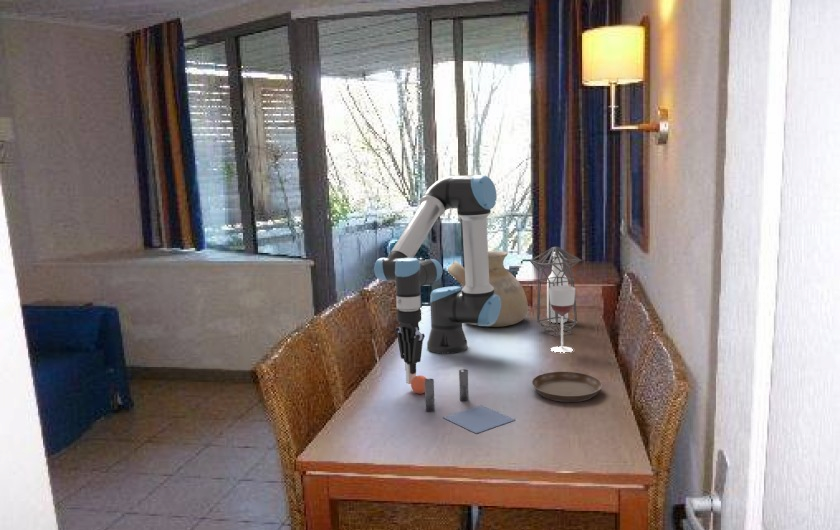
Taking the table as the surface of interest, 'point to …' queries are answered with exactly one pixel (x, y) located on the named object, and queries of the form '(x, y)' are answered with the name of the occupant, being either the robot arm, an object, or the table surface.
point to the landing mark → (479, 419)
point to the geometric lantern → (557, 252)
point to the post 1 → (429, 395)
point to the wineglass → (562, 308)
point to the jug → (500, 289)
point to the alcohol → (556, 271)
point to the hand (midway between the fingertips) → (411, 382)
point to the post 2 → (463, 384)
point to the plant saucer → (566, 386)
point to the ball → (418, 384)
